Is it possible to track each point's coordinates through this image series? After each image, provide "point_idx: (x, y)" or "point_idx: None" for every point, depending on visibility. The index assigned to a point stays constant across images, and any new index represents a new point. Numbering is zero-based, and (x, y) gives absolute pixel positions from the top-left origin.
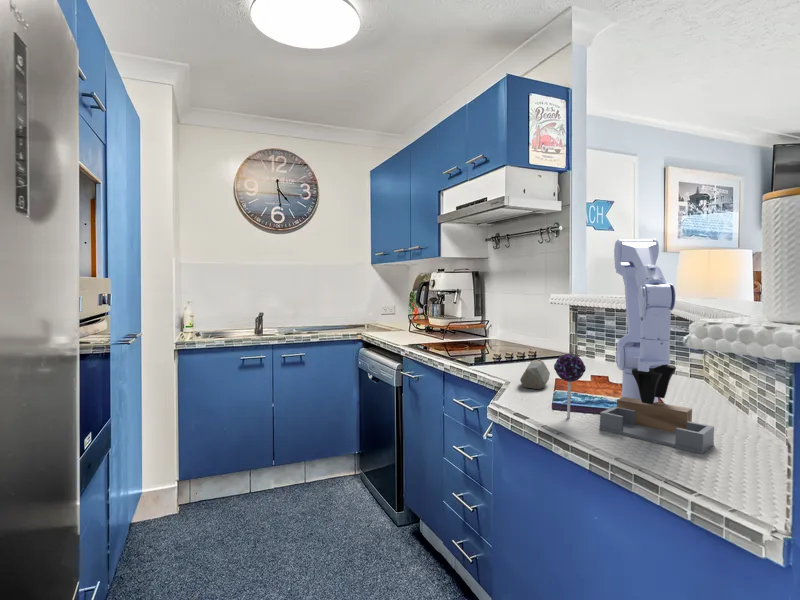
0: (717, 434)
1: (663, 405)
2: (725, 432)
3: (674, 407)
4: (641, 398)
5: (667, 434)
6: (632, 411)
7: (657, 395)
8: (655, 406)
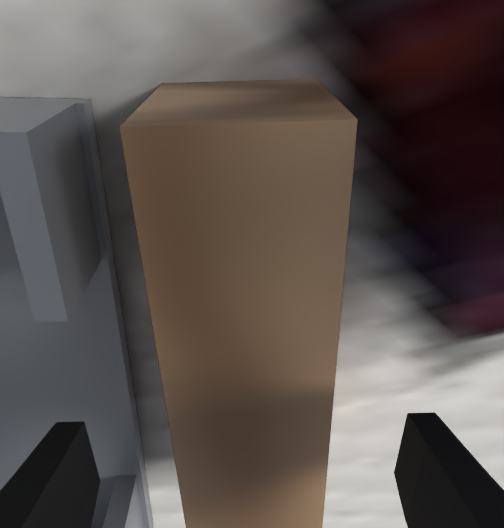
0: (325, 506)
1: (261, 468)
2: (384, 516)
3: (263, 515)
4: (32, 455)
5: None
6: (32, 307)
7: (408, 453)
8: (177, 446)
